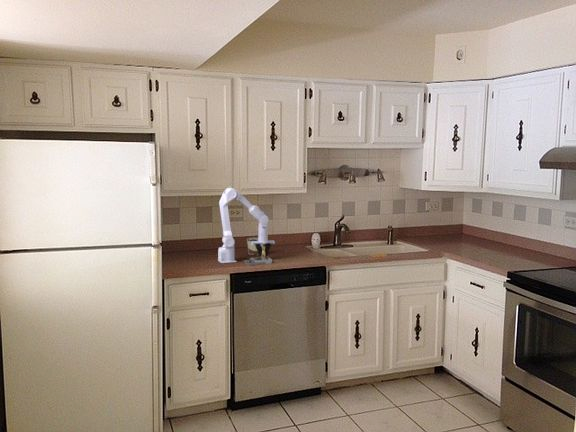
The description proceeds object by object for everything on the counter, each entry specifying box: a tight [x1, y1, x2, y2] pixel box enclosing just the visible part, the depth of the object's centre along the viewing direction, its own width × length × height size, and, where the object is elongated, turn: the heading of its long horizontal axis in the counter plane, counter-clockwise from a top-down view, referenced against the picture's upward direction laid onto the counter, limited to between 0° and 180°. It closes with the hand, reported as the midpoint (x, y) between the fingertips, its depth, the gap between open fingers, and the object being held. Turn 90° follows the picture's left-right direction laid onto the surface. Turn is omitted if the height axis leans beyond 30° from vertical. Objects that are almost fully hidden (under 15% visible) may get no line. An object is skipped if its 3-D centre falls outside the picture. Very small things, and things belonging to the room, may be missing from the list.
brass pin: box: [260, 245, 266, 257], centre depth 314 cm, size 4×4×8 cm
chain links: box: [243, 256, 273, 266], centre depth 306 cm, size 15×8×3 cm, turn 113°
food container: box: [246, 237, 265, 256], centre depth 332 cm, size 12×6×10 cm, turn 70°
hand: (263, 255), depth 314 cm, fingers closed on brass pin, 4 cm apart
